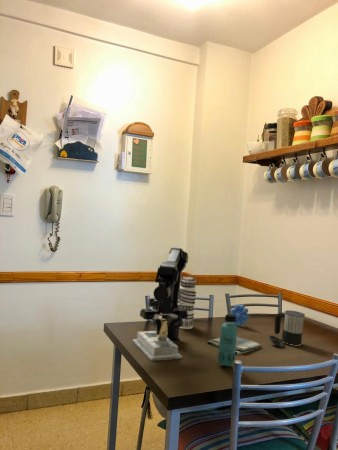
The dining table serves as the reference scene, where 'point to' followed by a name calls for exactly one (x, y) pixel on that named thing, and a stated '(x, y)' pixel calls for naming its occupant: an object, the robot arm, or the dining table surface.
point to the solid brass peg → (163, 330)
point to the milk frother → (289, 328)
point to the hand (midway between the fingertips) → (162, 334)
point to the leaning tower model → (187, 300)
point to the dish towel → (238, 345)
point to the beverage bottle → (228, 341)
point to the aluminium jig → (156, 346)
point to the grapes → (240, 314)
